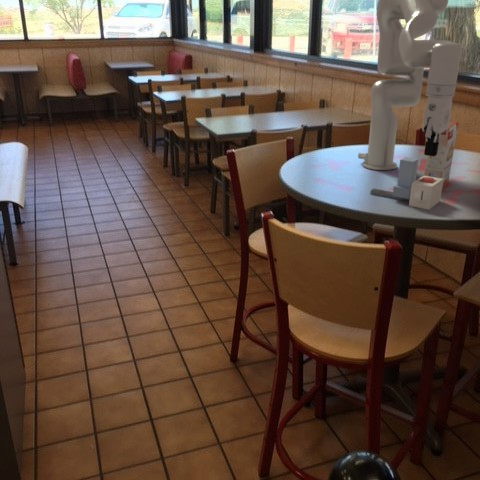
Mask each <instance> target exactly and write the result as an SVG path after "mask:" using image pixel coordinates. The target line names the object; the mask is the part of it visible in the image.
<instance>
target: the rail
mask: <svg viewBox="0 0 480 480" xmlns="http://www.w3.org/2000/svg"><path fill="white" fill-rule="evenodd" d="M369 192H370V195H372V196H379V197H384V198H388V199H389V198H390V199H394V200H400V201H403V202H409V200H410V198H409V199H406V198H401V197H396V196H393V191H389V190H383V189H377V188H372V189H370V191H369Z"/></svg>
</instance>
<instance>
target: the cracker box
mask: <svg viewBox="0 0 480 480" xmlns="http://www.w3.org/2000/svg"><path fill="white" fill-rule="evenodd" d="M459 123H460V122H459V121H455V120H450V125H449V128H448V129H447V130H445V131H443V132H442V133H441V135H440V140H439V145H438V151H437V155H436V156H428V155H426V160H425V162H426V163H425V167H424V175H423V176H430V177H436V178H442V179H444V180H443V186H442V190H443V189H444V188H445V187H446V186H447V185H448V183H449V182H450V181H449V180H450V173H451V169H452V163H453V157H454V151H455V145H456V138H457V134H458V129H459ZM437 142H438V141H437Z"/></svg>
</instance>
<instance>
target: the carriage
mask: <svg viewBox="0 0 480 480" xmlns="http://www.w3.org/2000/svg"><path fill="white" fill-rule="evenodd" d="M418 165H419V158H414V157H402V158H401V159H399V168H398V176H397V184H396V185H394V186H393V190H392V192H393V196H396V197H401V198H406V199H409V198H410V192H411V185H412V182H414V181H416V180H417V172H418Z"/></svg>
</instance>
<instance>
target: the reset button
mask: <svg viewBox="0 0 480 480" xmlns="http://www.w3.org/2000/svg"><path fill="white" fill-rule="evenodd" d="M422 182H426V183H432V184H433V183H434V178H430V177H423V178H422Z"/></svg>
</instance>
